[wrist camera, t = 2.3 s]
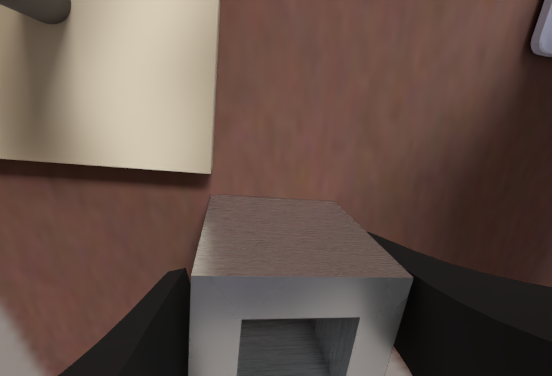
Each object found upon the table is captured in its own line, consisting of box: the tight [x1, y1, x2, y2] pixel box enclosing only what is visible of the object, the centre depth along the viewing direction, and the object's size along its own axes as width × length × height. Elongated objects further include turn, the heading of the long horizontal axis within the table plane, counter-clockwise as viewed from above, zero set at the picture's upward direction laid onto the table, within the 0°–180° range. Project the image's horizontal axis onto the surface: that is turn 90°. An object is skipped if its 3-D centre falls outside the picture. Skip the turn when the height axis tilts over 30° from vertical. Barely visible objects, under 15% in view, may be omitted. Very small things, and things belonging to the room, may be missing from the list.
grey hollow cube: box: [188, 194, 413, 376], centre depth 9 cm, size 5×5×5 cm
